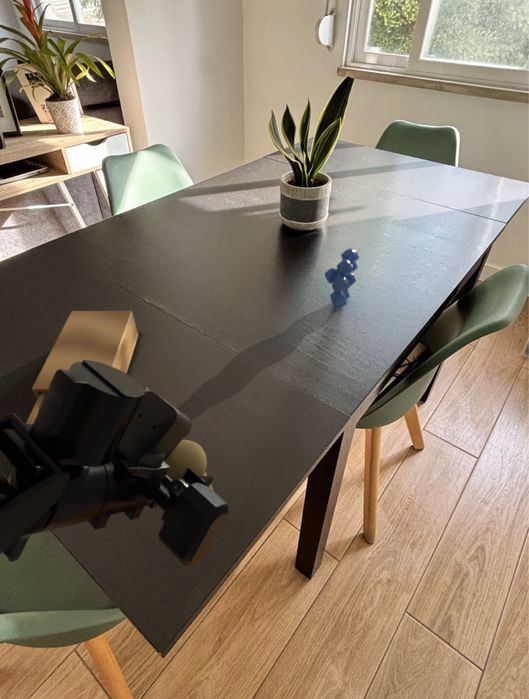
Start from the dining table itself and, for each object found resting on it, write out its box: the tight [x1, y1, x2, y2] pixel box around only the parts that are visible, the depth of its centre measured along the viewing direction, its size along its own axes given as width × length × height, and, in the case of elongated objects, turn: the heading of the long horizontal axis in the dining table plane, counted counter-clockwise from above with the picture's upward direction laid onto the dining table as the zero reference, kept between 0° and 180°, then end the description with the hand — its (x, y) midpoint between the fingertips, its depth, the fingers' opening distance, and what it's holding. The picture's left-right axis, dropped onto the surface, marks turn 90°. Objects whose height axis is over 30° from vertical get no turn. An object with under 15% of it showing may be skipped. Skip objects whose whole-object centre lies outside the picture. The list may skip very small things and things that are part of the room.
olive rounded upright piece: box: [163, 439, 214, 491], centre depth 50 cm, size 6×6×11 cm
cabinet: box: [31, 310, 139, 401], centre depth 75 cm, size 19×11×6 cm, turn 0°
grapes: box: [324, 247, 360, 310], centre depth 88 cm, size 12×7×12 cm, turn 158°
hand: (195, 467), depth 50 cm, fingers closed on olive rounded upright piece, 5 cm apart
